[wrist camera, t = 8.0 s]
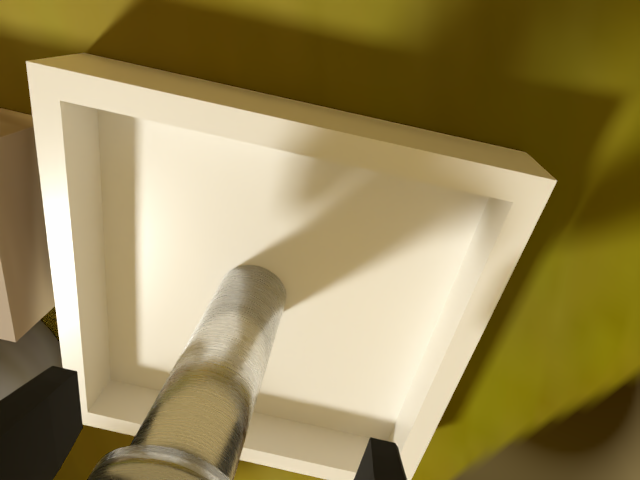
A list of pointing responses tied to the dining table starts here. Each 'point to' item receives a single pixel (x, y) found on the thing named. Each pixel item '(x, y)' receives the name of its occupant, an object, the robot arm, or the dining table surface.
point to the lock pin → (208, 388)
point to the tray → (272, 251)
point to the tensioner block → (23, 259)
